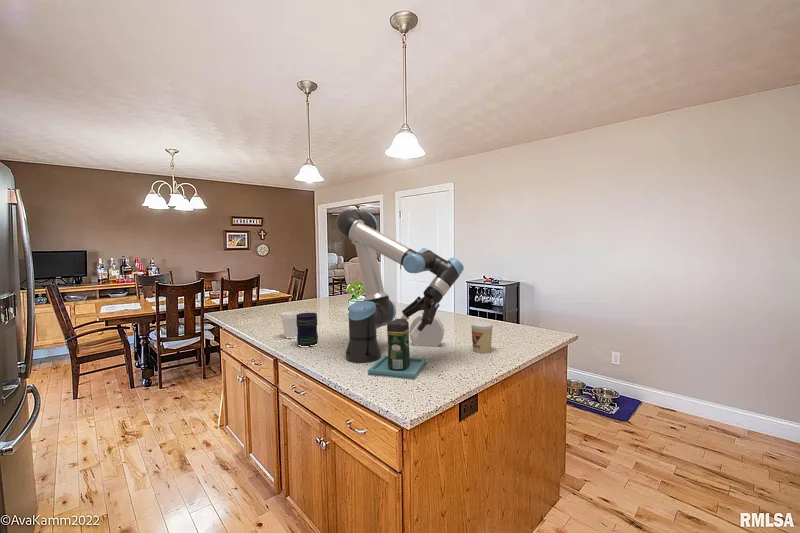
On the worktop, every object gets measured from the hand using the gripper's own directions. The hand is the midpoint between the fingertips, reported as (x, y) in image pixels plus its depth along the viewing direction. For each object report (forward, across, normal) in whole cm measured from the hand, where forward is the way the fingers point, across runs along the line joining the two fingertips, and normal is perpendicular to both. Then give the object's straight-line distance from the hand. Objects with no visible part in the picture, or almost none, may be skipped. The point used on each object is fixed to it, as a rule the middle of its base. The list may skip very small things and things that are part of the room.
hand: (403, 332), depth 144 cm
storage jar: (+28, +53, +8) cm, 60 cm away
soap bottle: (-7, +23, -27) cm, 37 cm away
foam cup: (+31, +71, +11) cm, 78 cm away
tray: (+12, +1, -8) cm, 14 cm away
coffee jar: (+11, 0, -8) cm, 14 cm away
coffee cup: (-18, +3, -39) cm, 43 cm away
